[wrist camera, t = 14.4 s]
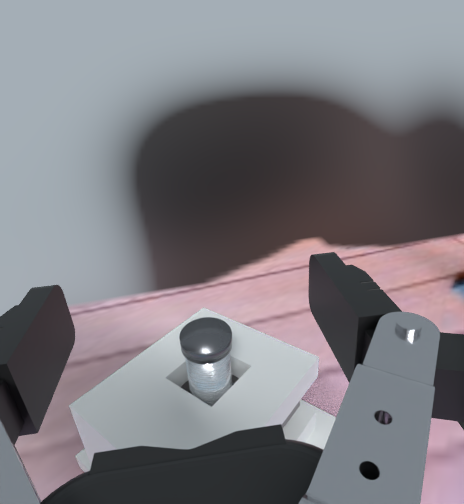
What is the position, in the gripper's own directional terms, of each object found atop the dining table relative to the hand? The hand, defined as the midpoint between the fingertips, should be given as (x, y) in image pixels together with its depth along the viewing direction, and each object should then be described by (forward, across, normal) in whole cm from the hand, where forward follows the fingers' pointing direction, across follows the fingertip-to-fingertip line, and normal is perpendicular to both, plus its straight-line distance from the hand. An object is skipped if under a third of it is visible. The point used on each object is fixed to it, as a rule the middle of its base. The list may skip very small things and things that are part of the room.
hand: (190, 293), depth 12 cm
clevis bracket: (+11, 0, +23) cm, 26 cm away
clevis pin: (+11, 0, +22) cm, 24 cm away
